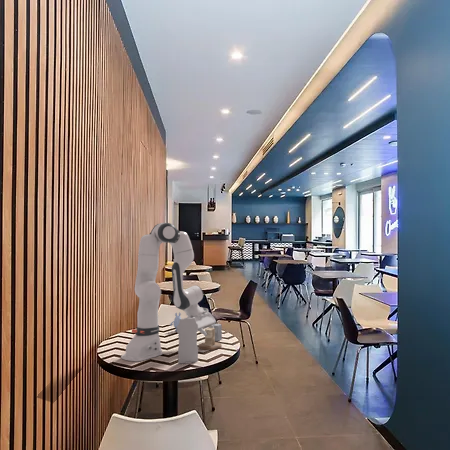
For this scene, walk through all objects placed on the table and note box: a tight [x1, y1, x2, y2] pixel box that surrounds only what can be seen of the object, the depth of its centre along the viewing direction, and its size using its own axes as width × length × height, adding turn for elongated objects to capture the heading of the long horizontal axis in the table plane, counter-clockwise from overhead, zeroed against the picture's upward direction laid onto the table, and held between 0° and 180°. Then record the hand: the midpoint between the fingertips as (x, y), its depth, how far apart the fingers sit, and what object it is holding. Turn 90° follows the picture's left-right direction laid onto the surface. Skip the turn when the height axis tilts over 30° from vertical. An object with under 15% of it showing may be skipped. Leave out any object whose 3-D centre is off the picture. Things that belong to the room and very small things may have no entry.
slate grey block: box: [213, 323, 223, 342], centre depth 231 cm, size 4×4×9 cm
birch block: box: [204, 327, 216, 346], centre depth 217 cm, size 4×4×9 cm
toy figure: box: [169, 312, 182, 332], centre depth 255 cm, size 11×6×12 cm, turn 107°
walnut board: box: [197, 341, 222, 351], centre depth 217 cm, size 13×13×1 cm
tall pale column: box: [176, 316, 199, 365], centre depth 192 cm, size 11×4×22 cm, turn 106°
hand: (210, 333), depth 217 cm, fingers open, 6 cm apart
